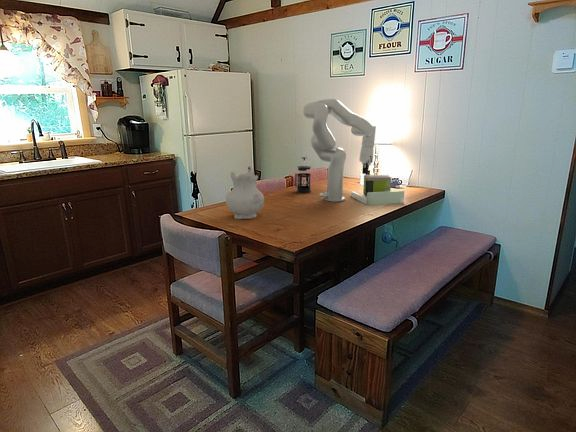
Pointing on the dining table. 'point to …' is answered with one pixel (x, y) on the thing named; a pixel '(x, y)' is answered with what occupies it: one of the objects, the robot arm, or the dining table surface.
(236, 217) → the ceramic pitcher
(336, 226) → the dining table surface
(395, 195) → the bay
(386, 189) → the tea box
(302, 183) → the french press
